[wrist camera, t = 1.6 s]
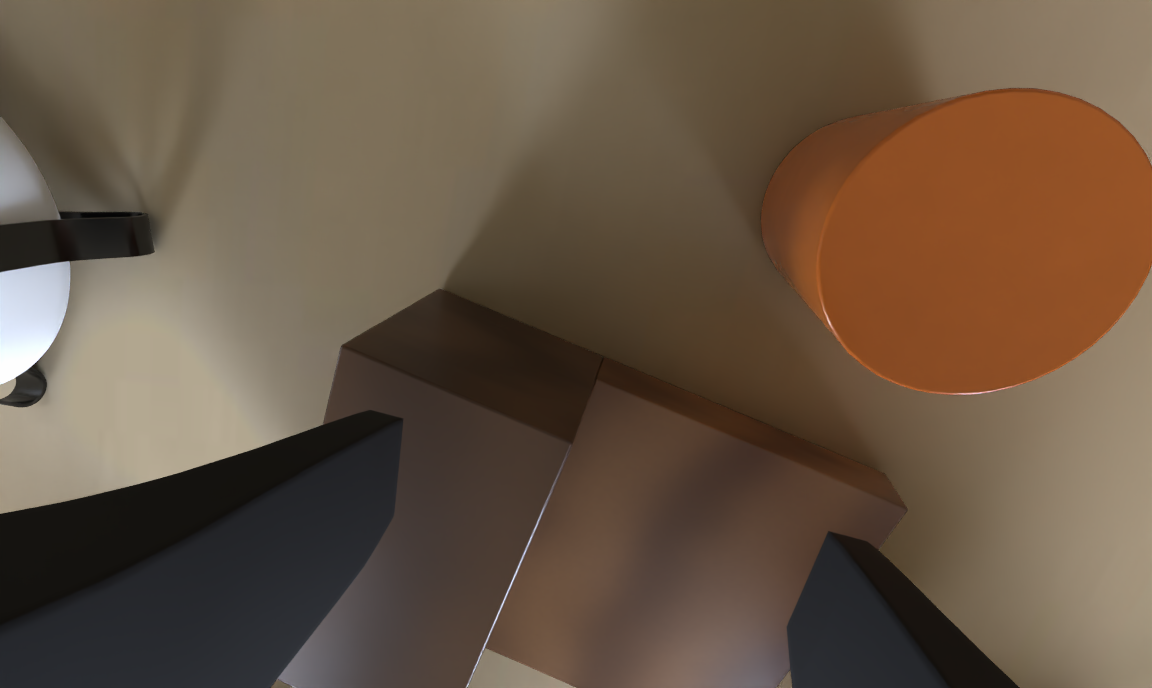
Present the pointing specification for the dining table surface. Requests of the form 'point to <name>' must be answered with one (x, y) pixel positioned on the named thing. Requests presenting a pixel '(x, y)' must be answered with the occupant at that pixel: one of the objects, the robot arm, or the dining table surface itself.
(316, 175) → the dining table surface
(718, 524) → the shelf riser
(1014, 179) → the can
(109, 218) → the coffee press
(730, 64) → the dining table surface
